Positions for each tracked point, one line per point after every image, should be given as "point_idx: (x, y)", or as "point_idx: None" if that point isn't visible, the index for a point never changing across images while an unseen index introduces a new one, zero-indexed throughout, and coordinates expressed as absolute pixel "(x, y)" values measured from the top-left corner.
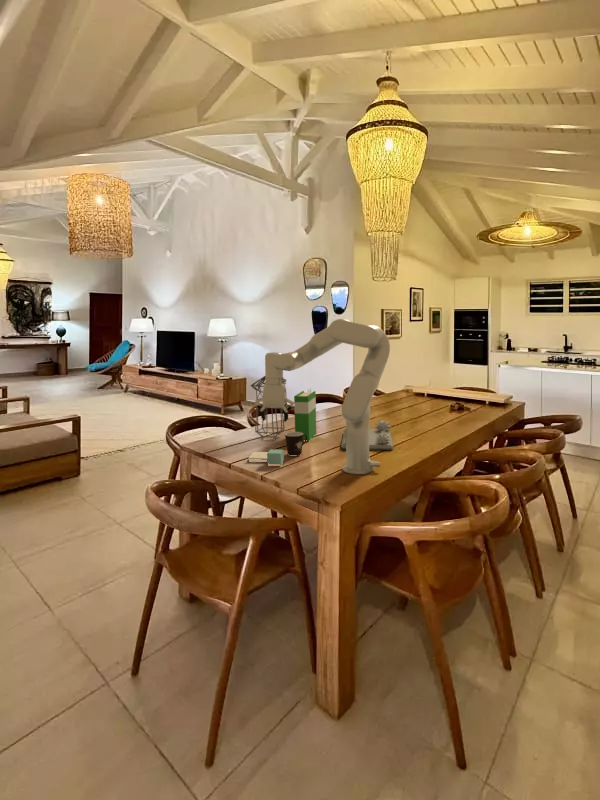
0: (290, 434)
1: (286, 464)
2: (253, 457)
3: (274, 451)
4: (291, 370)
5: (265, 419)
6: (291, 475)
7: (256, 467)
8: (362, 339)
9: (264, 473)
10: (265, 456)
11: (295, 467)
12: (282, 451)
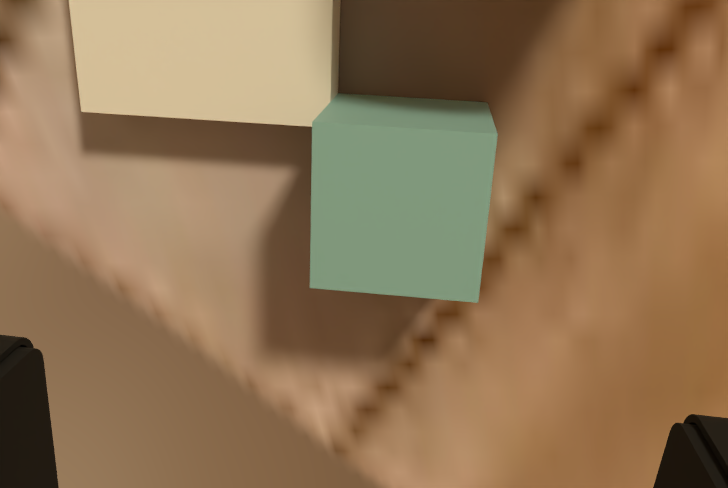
0: None
1: (522, 167)
2: (132, 96)
3: (386, 215)
4: None
5: (45, 379)
6: (588, 458)
7: (237, 263)
8: None
9: (349, 411)
10: (258, 50)
11: (623, 260)
12: (489, 196)
